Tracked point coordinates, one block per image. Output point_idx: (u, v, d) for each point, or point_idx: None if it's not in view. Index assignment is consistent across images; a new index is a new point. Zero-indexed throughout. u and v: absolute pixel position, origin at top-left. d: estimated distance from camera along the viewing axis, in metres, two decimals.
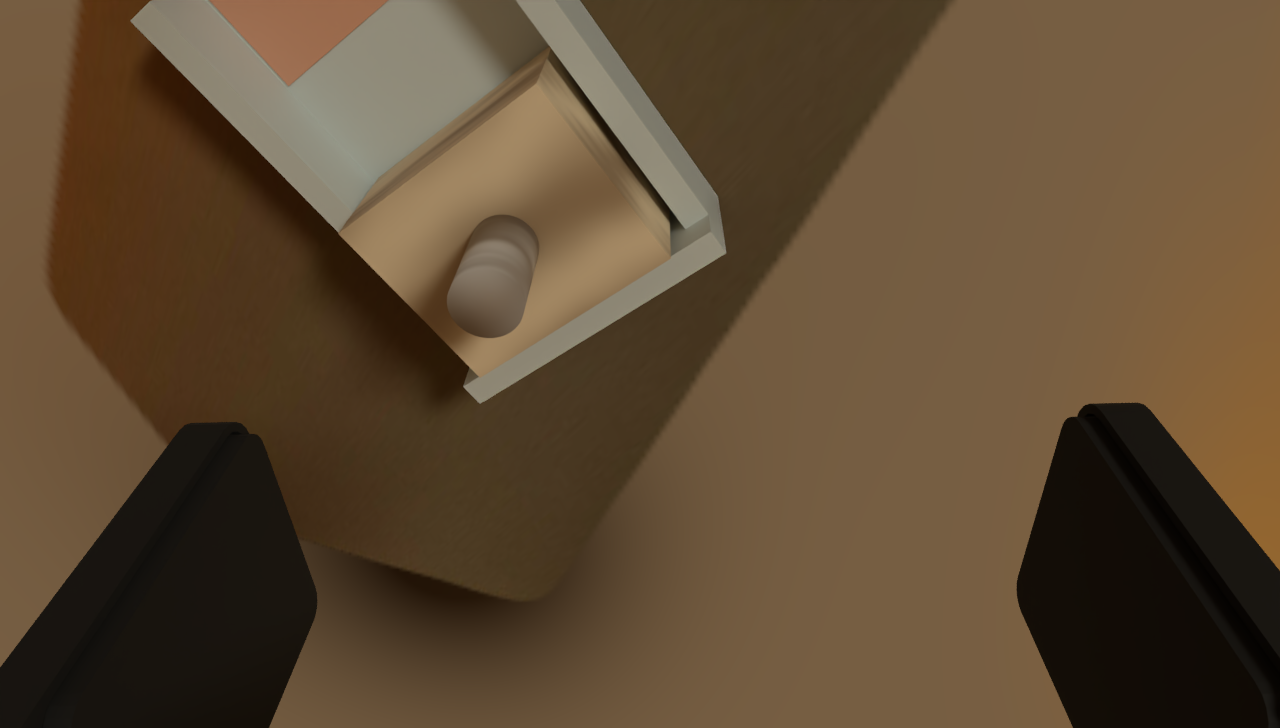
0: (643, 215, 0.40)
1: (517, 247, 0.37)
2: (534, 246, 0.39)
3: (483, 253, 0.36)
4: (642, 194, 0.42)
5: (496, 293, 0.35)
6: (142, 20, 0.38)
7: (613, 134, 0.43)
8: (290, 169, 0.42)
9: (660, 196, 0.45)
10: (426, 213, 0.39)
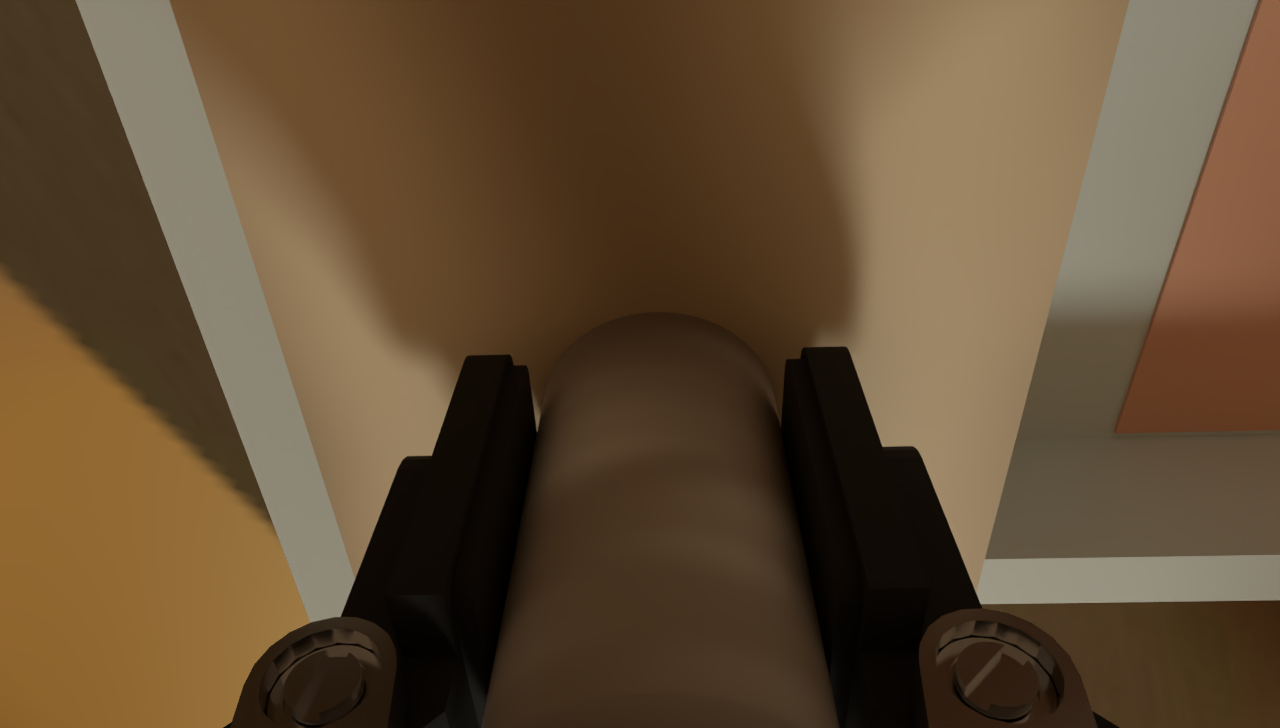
0: None
1: None
2: None
3: None
4: None
5: None
6: None
7: None
8: None
9: None
10: (922, 284, 0.11)
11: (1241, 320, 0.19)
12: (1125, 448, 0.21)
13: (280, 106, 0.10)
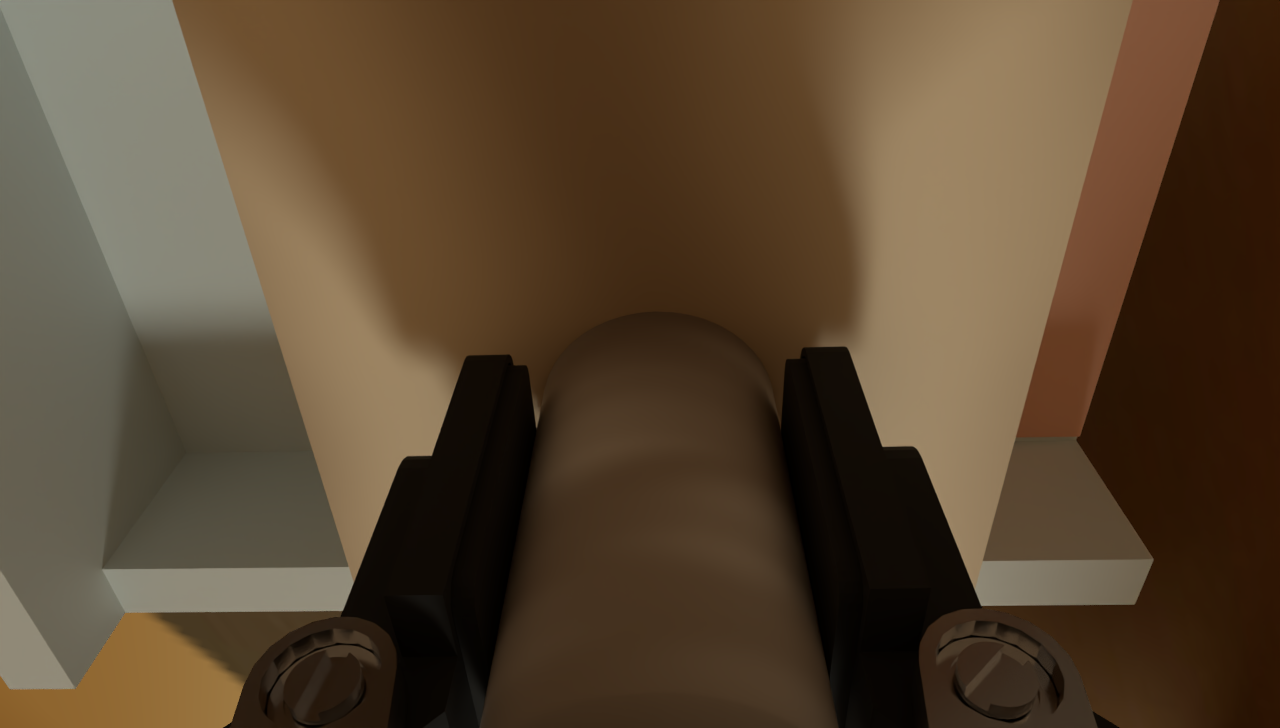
0: None
1: None
2: None
3: None
4: None
5: None
6: None
7: None
8: None
9: None
10: (923, 285, 0.11)
11: None
12: None
13: (281, 102, 0.10)
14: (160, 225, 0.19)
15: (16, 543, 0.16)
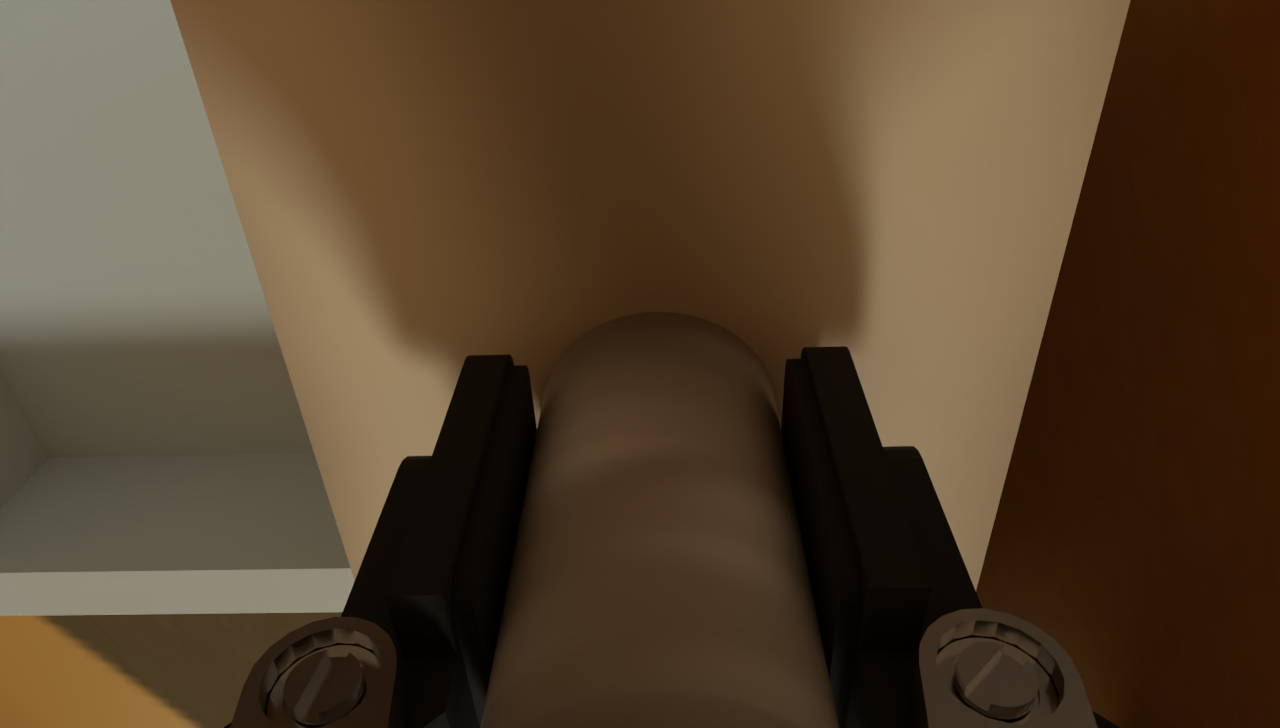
0: None
1: None
2: None
3: None
4: None
5: None
6: None
7: None
8: None
9: None
10: (922, 285, 0.11)
11: None
12: None
13: (280, 104, 0.10)
14: None
15: None
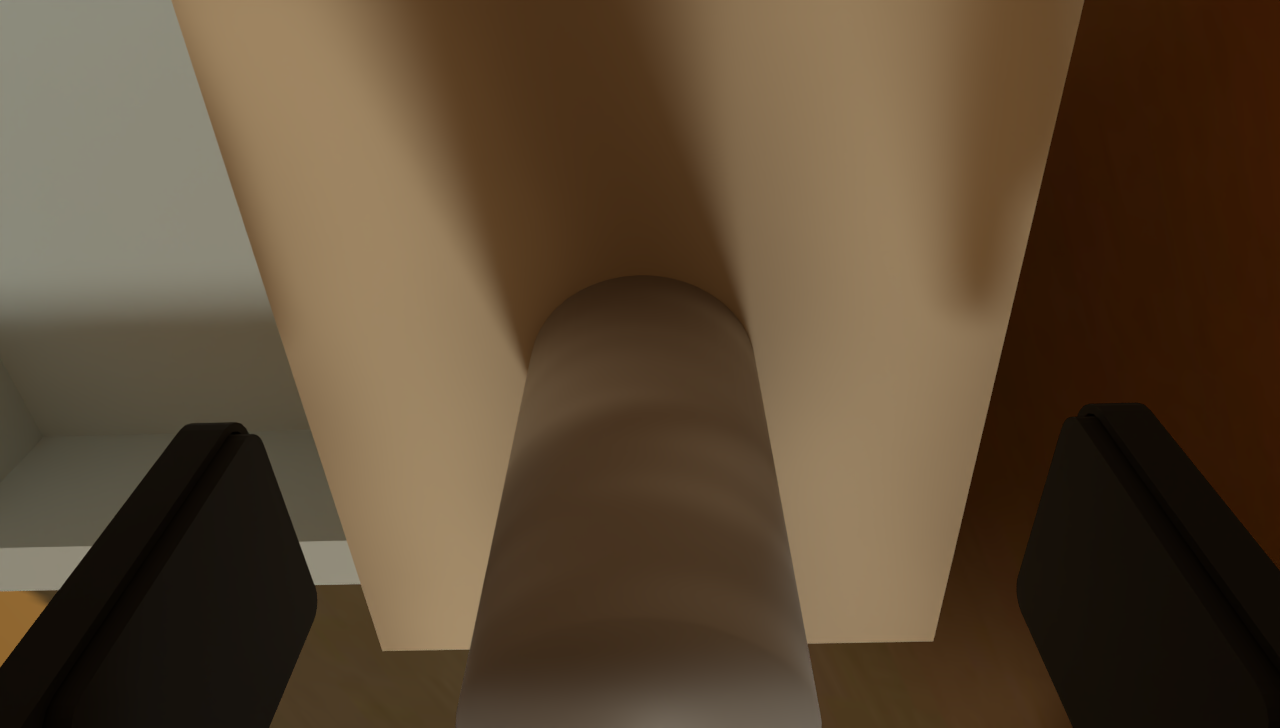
0: None
1: None
2: None
3: None
4: None
5: None
6: None
7: None
8: None
9: None
10: (896, 247, 0.11)
11: None
12: None
13: (269, 71, 0.10)
14: None
15: None
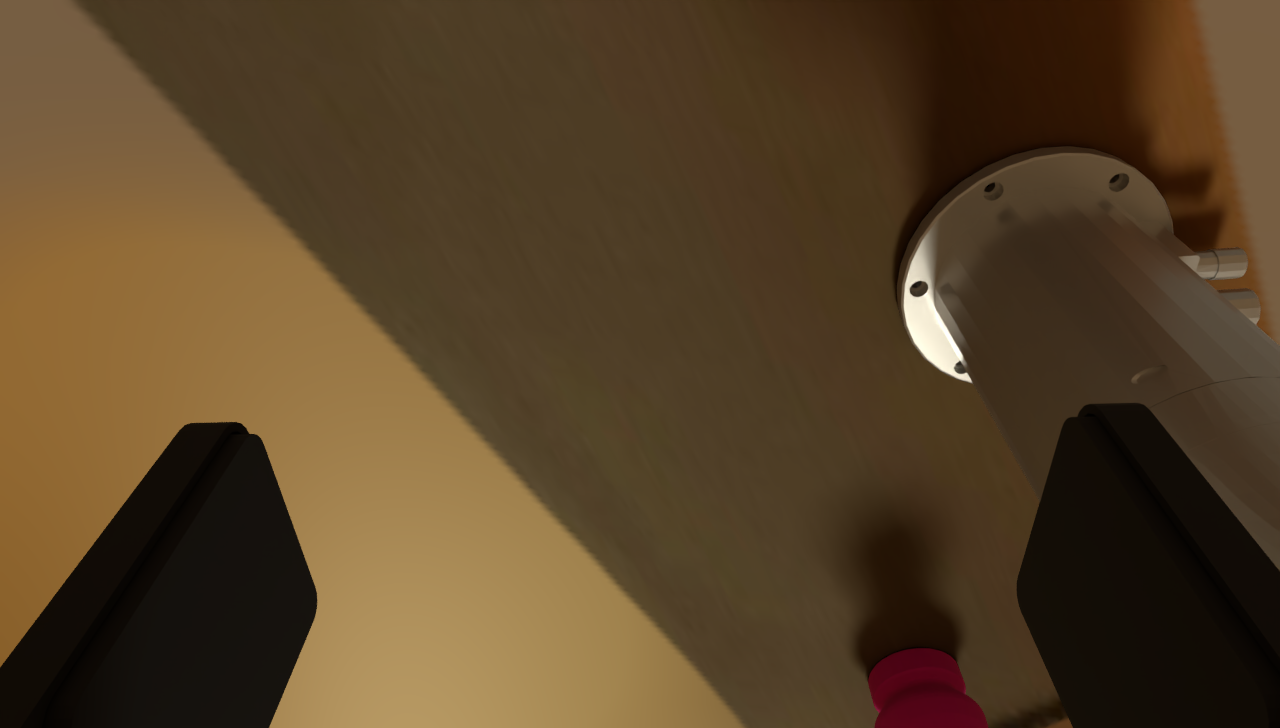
0: None
1: None
2: None
3: None
4: None
5: None
6: None
7: None
8: None
9: None
10: None
11: None
12: None
13: None
14: None
15: None
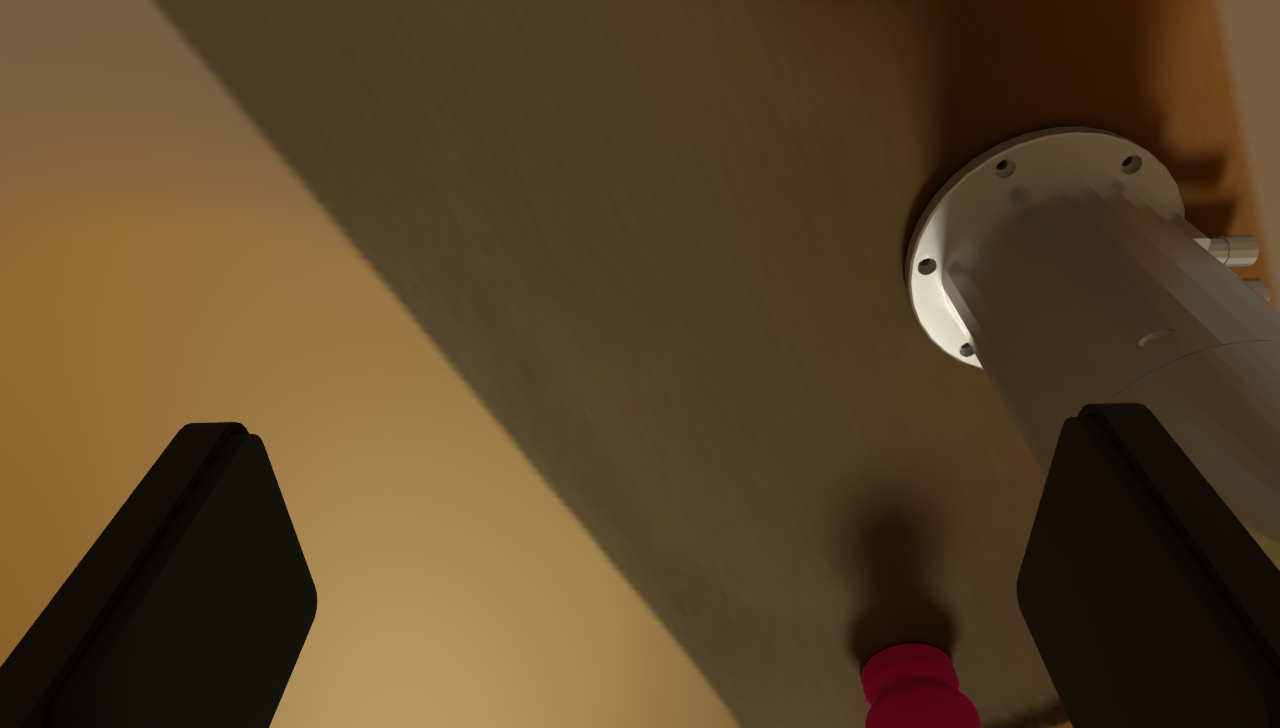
0: None
1: None
2: None
3: None
4: None
5: None
6: None
7: None
8: None
9: None
10: None
11: None
12: None
13: None
14: None
15: None
